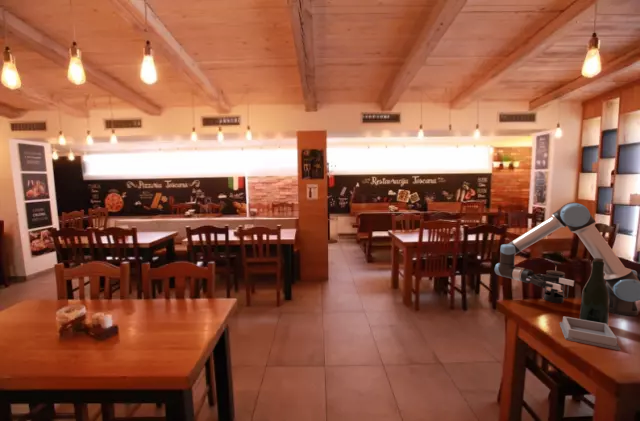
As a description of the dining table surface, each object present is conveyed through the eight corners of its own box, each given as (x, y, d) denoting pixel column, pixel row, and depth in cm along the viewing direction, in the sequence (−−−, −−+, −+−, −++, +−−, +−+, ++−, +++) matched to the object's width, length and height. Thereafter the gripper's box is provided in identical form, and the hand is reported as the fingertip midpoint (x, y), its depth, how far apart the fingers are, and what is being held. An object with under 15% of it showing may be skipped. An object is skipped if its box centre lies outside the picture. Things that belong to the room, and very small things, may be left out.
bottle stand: (608, 332, 146) (608, 323, 145) (620, 350, 130) (621, 340, 130) (559, 323, 155) (560, 315, 154) (565, 339, 139) (566, 329, 139)
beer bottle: (613, 328, 149) (619, 260, 147) (596, 330, 147) (601, 261, 144) (590, 319, 160) (595, 255, 157) (573, 321, 158) (578, 256, 155)
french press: (540, 299, 186) (543, 261, 184) (544, 295, 193) (547, 259, 191) (565, 305, 178) (568, 265, 176) (568, 301, 184) (571, 262, 182)
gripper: (535, 278, 186) (578, 288, 168) (510, 285, 174) (554, 297, 156) (535, 265, 186) (579, 275, 167) (511, 271, 173) (555, 282, 155)
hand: (567, 285), depth 161 cm, fingers open, 13 cm apart
